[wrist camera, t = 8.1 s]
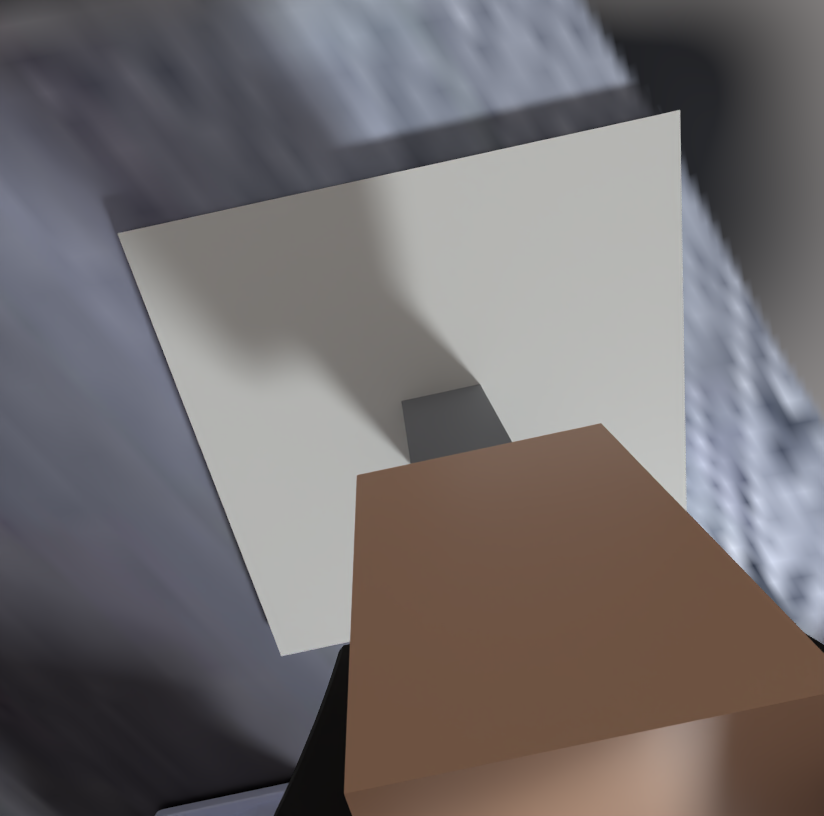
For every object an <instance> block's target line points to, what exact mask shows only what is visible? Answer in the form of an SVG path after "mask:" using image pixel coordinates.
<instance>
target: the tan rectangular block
mask: <svg viewBox="0 0 824 816" xmlns="http://www.w3.org/2000/svg"><path fill="white" fill-rule="evenodd" d="M344 795H345V798H346V801H347V803H348V806H349V809H350V811H351V814H352V816H824V653H823V652H822V651H821V650H820V649H819V648H818V647H817V646H816V645H815V644H814V643H813V642H812V640H811V639H810V638H809V637H808V636H807V635H806V634H805V633H804V632H803V631H802V630H801V629H800V628H799V627H798V626H797V625H796V624H795V623H794V622H793V621H792V620H791V619H790V618H789V617H788V616H787V615H786V614H785V613H784V612H783V611H782V609H781V608H780V607H779V606H778V605H777V604H776V603H775V602H774V601H773V600H772V599H771V598H770V597H769V596H768V595H767V594H766V593H765V592H764V591H763V590H762V589H761V588H760V587H759V586H758V585H757V584H756V583H755V582H754V581H753V580H752V579H751V577H750V576H749V575H748V574H747V573H746V572H745V571H744V570H743V569H742V568H741V567H740V566H739V565H738V564H737V563H736V562H735V561H734V560H733V559H732V558H731V557H730V556H729V555H728V554H727V553H726V552H725V551H724V550H723V549H722V548H721V546H720V545H719V544H718V543H717V542H716V541H715V540H714V539H713V538H712V537H711V536H710V535H709V534H708V533H707V532H706V531H705V530H704V529H703V528H702V527H701V526H700V525H699V524H698V523H697V522H696V521H695V520H694V519H693V518H692V517H691V516H690V514H689V513H688V512H687V511H686V510H685V509H684V508H683V507H682V506H681V505H680V504H679V503H678V502H677V501H676V500H675V499H674V498H673V497H672V496H671V495H670V494H669V493H668V492H667V491H666V490H665V489H664V488H663V487H662V486H661V485H660V483H659V482H658V481H657V480H656V479H655V478H654V477H653V476H652V475H651V474H650V473H649V472H648V471H647V470H646V469H645V468H644V467H643V466H642V465H641V464H640V463H639V462H638V461H637V460H636V459H635V458H634V457H633V456H632V455H631V454H630V453H629V451H628V450H627V449H626V448H625V447H624V446H623V445H622V444H621V443H620V442H619V441H618V440H617V439H616V438H615V437H614V436H613V435H612V434H611V433H610V432H609V431H608V430H607V429H606V428H605V427H604V426H603V425H602V424H601V423H600V424H595V425H590V426H586V427H581V428H576V429H571V430H567V431H562V432H557V433H553V434H548V435H543V436H539V437H534V438H529V439H524V440H520V441H515V442H510V443H506V444H501V445H496V446H491V447H487V448H482V449H477V450H473V451H468V452H463V453H459V454H454V455H449V456H444V457H440V458H435V459H430V460H426V461H421V462H416V463H411V464H407V465H402V466H397V467H393V468H388V469H383V470H379V471H374V472H369V473H364V474H360V475H357V481H356V506H355V531H354V556H353V581H352V605H351V630H350V655H349V680H348V705H347V729H346V754H345V779H344Z"/></svg>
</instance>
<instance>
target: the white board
mask: <svg viewBox="0 0 824 816" xmlns="http://www.w3.org/2000/svg"><path fill="white" fill-rule="evenodd" d="M117 234H118V236H119V239H120V241H121V244H122V247H123V249H124V252H125V254H126V257H127V259H128V262H129V265H130V267H131V270H132V272H133V275H134V278H135V280H136V283H137V285H138V288H139V290H140V293H141V296H142V298H143V301H144V303H145V306H146V308H147V311H148V314H149V316H150V319H151V321H152V324H153V326H154V329H155V332H156V334H157V337H158V339H159V342H160V345H161V347H162V350H163V352H164V355H165V357H166V360H167V363H168V365H169V368H170V370H171V373H172V375H173V378H174V381H175V383H176V386H177V388H178V391H179V393H180V396H181V399H182V401H183V404H184V406H185V409H186V412H187V414H188V417H189V419H190V422H191V424H192V427H193V430H194V432H195V435H196V437H197V440H198V442H199V445H200V448H201V450H202V453H203V455H204V458H205V460H206V463H207V466H208V468H209V471H210V473H211V476H212V479H213V481H214V484H215V486H216V489H217V491H218V494H219V497H220V499H221V502H222V504H223V507H224V509H225V512H226V515H227V517H228V520H229V522H230V525H231V528H232V530H233V533H234V535H235V538H236V540H237V543H238V546H239V548H240V551H241V553H242V556H243V558H244V561H245V564H246V566H247V569H248V571H249V574H250V576H251V579H252V582H253V584H254V587H255V589H256V592H257V595H258V597H259V600H260V602H261V605H262V607H263V610H264V613H265V615H266V618H267V620H268V623H269V625H270V628H271V631H272V633H273V636H274V638H275V641H276V643H277V646H278V649H279V651H280V654H281V656H284V655H289V654H294V653H298V652H303V651H308V650H312V649H317V648H322V647H327V646H331V645H336V644H341V643H346V642H350V630H351V605H352V581H353V556H354V531H355V506H356V481H357V475H360V474H364V473H369V472H374V471H379V470H383V469H388V468H393V467H397V466H402V465H407V464H411V463H416V462H421V461H426V460H430V459H435V458H440V457H444V456H449V455H454V454H459V453H463V452H468V451H473V450H477V449H482V448H487V447H491V446H496V445H501V444H506V443H510V442H515V441H520V440H524V439H529V438H534V437H539V436H543V435H548V434H553V433H557V432H562V431H567V430H571V429H576V428H581V427H586V426H590V425H595V424H600V423H601V424H602V425H603V426H604V427H605V428H606V429H607V430H608V431H609V432H610V433H611V434H612V435H613V436H614V437H615V438H616V439H617V440H618V441H619V442H620V443H621V444H622V445H623V446H624V447H625V448H626V449H627V450H628V451H629V453H630V454H631V455H632V456H633V457H634V458H635V459H636V460H637V461H638V462H639V463H640V464H641V465H642V466H643V467H644V468H645V469H646V470H647V471H648V472H649V473H650V474H651V475H652V476H653V477H654V478H655V479H656V480H657V481H658V482H659V483H660V485H661V486H662V487H663V488H664V489H665V490H666V491H667V492H668V493H669V494H670V495H671V496H672V497H673V498H674V499H675V500H676V501H677V502H678V503H679V504H680V505H681V506H682V507H683V508H684V509H685V510H686V448H685V387H684V325H683V263H682V202H681V141H680V110H678V111H673V112H669V113H664V114H660V115H655V116H650V117H646V118H641V119H637V120H632V121H628V122H623V123H619V124H614V125H609V126H605V127H600V128H596V129H591V130H587V131H582V132H578V133H573V134H568V135H564V136H559V137H555V138H550V139H546V140H541V141H536V142H532V143H527V144H523V145H518V146H514V147H509V148H505V149H500V150H495V151H491V152H486V153H482V154H477V155H473V156H468V157H464V158H459V159H454V160H450V161H445V162H441V163H436V164H432V165H427V166H422V167H418V168H413V169H409V170H404V171H400V172H395V173H391V174H386V175H381V176H377V177H372V178H368V179H363V180H359V181H354V182H350V183H345V184H340V185H336V186H331V187H327V188H322V189H318V190H313V191H308V192H304V193H299V194H295V195H290V196H286V197H281V198H277V199H272V200H267V201H263V202H258V203H254V204H249V205H245V206H240V207H236V208H231V209H226V210H222V211H217V212H213V213H208V214H204V215H199V216H194V217H190V218H185V219H181V220H176V221H172V222H167V223H163V224H158V225H153V226H149V227H144V228H140V229H135V230H131V231H126V232H122V233H117ZM686 511H687V510H686Z"/></svg>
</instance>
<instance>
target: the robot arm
mask: <svg viewBox="0 0 824 816" xmlns="http://www.w3.org/2000/svg"><path fill="white" fill-rule="evenodd" d="M806 635H807V634H806ZM807 636H808V635H807ZM808 637H809V638H810V639H811V640H812V642H813V643H814V644H815V645H816V646H817V647H818V648H819V649H820V650H821V651H822V652H823V653H824V645H823V644H822V643H820V642H818V641H817V640H815V639H813V638H812V637H810V636H808ZM349 655H350V644H349V645H344V646H343V647H342V648H341V650H340V651H339V653H338V657H337V660H336V663H335V666H334V669H333V672H332V675H331V678H330V681H329V684H328V687H327V690H326V693H325V696H324V698H323V701H322V704H321V706H320V709H319V712H318V714H317V717H316V720H315V722H314V725H313V727H312V730H311V732H310V734H309V737H308V739H307V742H306V744H305V746H304V749H303V751H302V754H301V756H300V759H299V761H298V763H297V766H296V768H295V770H294V773H293V775H292V777H291V779H290V782H289V783H285V784H280V785H275V786H271V787H266V788H261V789H256V790H252V791H247V792H242V793H237V794H233V795H228V796H223V797H218V798H213V799H209V800H204V801H199V802H194V803H190V804H185V805H180V806H175V807H171V808H166V809H162V810H159V811H158V812H157V813H156V815H155V816H352V814H351V811H350V809H349V806H348V803H347V801H346V798H345V795H344V779H345V754H346V729H347V705H348V680H349Z"/></svg>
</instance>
